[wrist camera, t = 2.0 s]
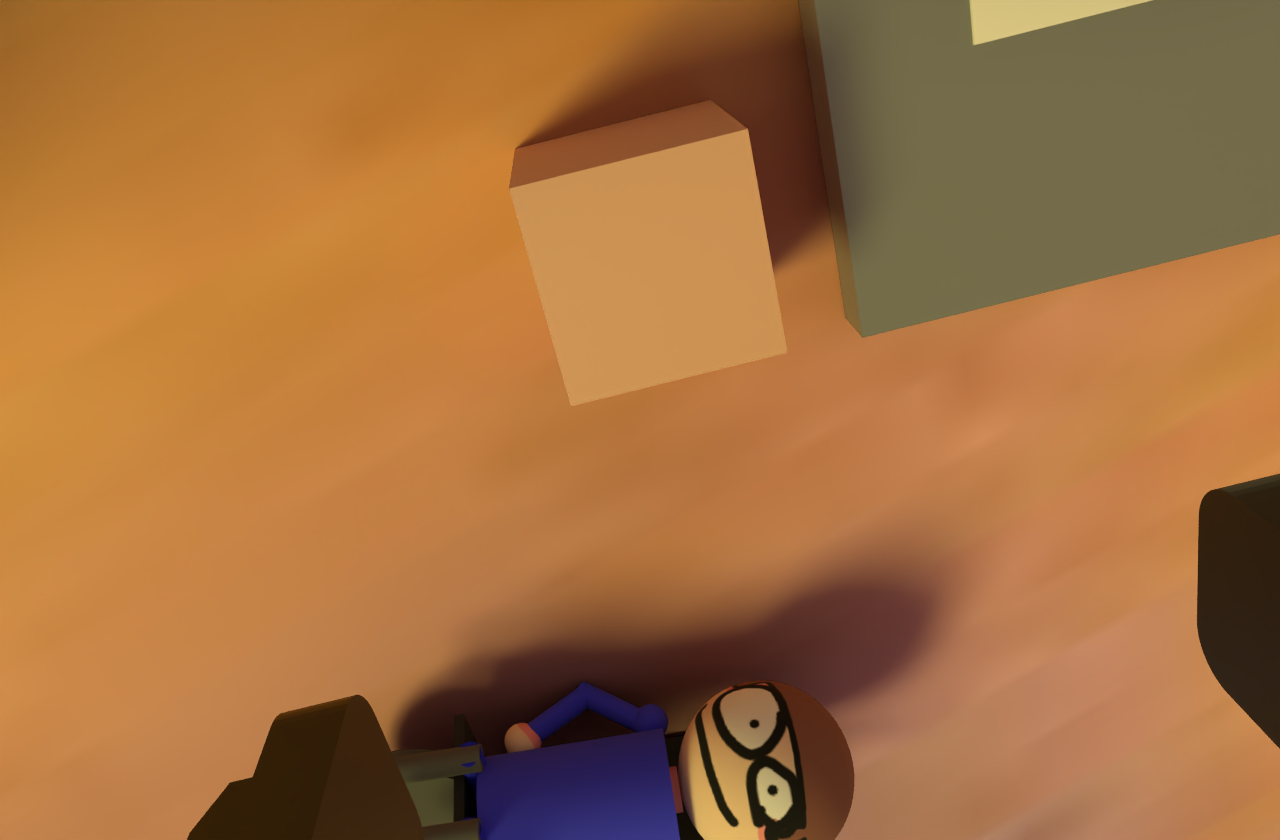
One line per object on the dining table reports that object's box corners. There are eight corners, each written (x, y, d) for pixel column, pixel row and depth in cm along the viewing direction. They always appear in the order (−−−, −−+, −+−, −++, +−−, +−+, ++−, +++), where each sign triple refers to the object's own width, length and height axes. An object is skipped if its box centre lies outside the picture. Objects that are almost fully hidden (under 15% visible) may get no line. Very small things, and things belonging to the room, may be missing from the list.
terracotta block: (566, 332, 27) (571, 406, 22) (515, 148, 25) (508, 188, 20) (746, 287, 27) (787, 352, 22) (710, 99, 25) (747, 128, 20)
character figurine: (341, 679, 31) (811, 612, 32) (387, 859, 34) (821, 793, 35) (279, 870, 24) (890, 778, 25) (343, 1082, 27) (896, 992, 27)
